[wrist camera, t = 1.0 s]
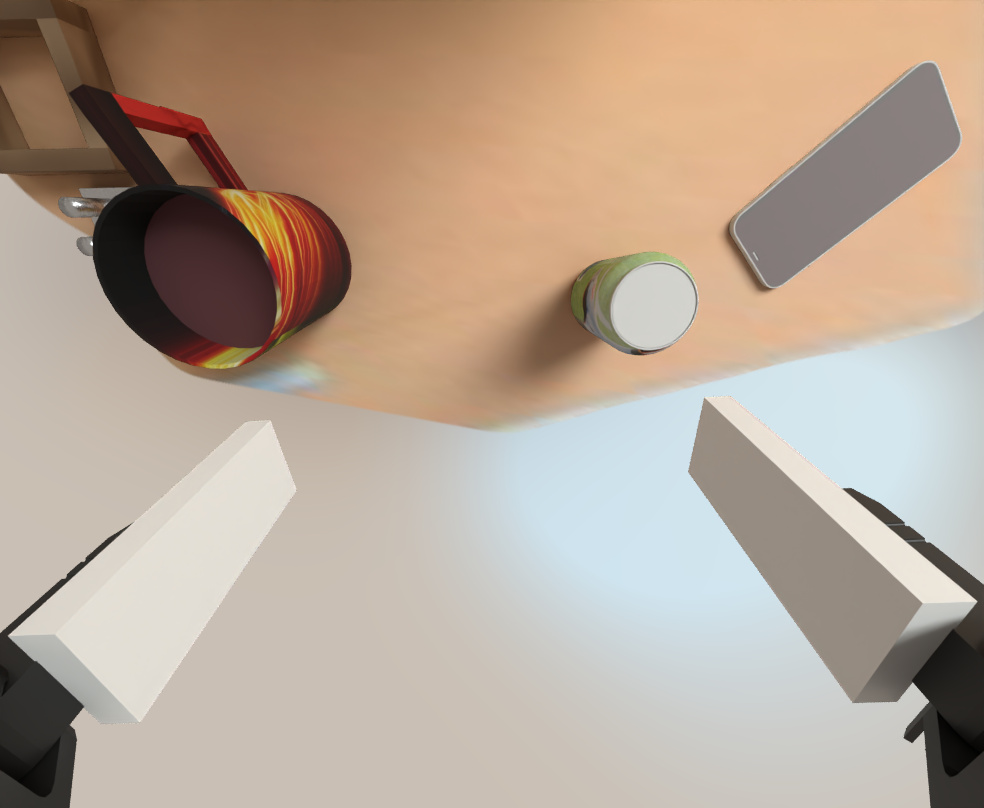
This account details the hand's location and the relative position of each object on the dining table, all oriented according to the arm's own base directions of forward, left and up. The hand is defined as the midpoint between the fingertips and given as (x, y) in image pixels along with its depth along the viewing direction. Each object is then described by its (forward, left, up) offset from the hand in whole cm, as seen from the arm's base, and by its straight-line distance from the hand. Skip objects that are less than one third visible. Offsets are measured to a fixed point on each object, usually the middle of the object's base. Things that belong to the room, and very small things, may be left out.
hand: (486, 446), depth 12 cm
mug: (-5, -18, -24) cm, 30 cm away
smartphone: (-8, +27, -24) cm, 37 cm away
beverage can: (-1, +10, -24) cm, 25 cm away
